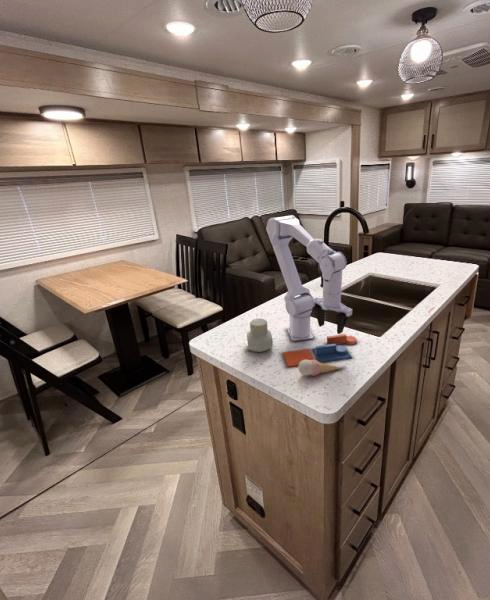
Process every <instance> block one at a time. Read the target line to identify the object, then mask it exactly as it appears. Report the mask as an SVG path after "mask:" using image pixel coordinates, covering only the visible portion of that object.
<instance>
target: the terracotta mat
mask: <svg viewBox="0 0 490 600" xmlns="http://www.w3.org/2000/svg"><path fill="white" fill-rule="evenodd" d="M282 355H283V358H284V361H285V364H286V366H287V368H291V367H298V365H299V363H300V362H301V361H302V360H306V359H307V360H315V359H314V357H313V355H312V354H311V351H310V350H309V349H308V348H306V349H300V350H293V351H283V352H282Z"/></svg>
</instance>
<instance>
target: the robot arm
mask: <svg viewBox="0 0 490 600" xmlns="http://www.w3.org/2000/svg"><path fill="white" fill-rule="evenodd" d="M265 230H266V232H267V235H268V239H269V241H270V243H271V245H272V249H273V251H274V254H275V257H276V259H277V263H278V265H279V269H280V271H281V274H282V277H283V280H284V283H285V285H286V288H287V293H286V294H285V296H284V298H283V299H284V303H285V310H286V312H287V314H288V315H289V327H287V329H286V330H287V332H288V334H289V337H290V339H291V341H292V342H296V341H304V340H314V336H313V333H311V314H312V312H313V313H314V315H315V317H316V320H317V324H318V327H319V328H320V327H323V326H325V322H326V312H327V311H334V312H337V313H338V314H337V315H335V320H336V333H337V334H336V335H341V334H342V333H343V332H344V328H345V326H346V324H347V322H348V321H349V318H350V317H351V316H352V315H353V308H351V307H348V306H346V305H345V304H344V303H342V286H343V285H342V284H343V283H342V282H343V270H345V269H346V268H347V264H348V261H347V258H346V256H345V255H344V253H343V252H341V251H336V250H334V249H332V248H331V247H330V246H328V245H327V244H326V243H325V242H324V240H323V239H322V238H313V236H311V234H310V233H309V232H308V231H307V230H306V229H305V228H304V227H303V226H302V225H301V223H300V220H299V219H298V218H297V217H296V216H295V215H293V214H289V215H284V216H278V217H270V218H269V219H268V221H267V224H266V228H265ZM293 238H294V239H295V240H297V241H298V242H299V243H300V244H302V245H303V246H305V247H306V253H307V254H308V255H310V257H312V258H313V259H314V261H316V262H317V263H318V265H319V269H320V271H321V276H322V298H320V297H314V296H313V295H312V293H311V291H310V289H309V288H308V287H305V286H303V284H302V280H301V277H300V275H299V273H298V269H297V266H296V263H295V261H294V258H293V255H292V253H291V249H290V247H289V244H290V241H292V240H293Z"/></svg>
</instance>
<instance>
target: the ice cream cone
mask: <svg viewBox="0 0 490 600" xmlns="http://www.w3.org/2000/svg"><path fill="white" fill-rule="evenodd" d="M297 369H298V372H299V373H300V374H301V375H303V376H317V375H319V374H322V373H327V372H332V371H336V370H341V369H343V367H340V366H335V365H332V364H328V363H325V362H319V361H318V360H317V359H314V360H307V359H306V360H302V361H301V362H300V363H299V365H298V366H297Z"/></svg>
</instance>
